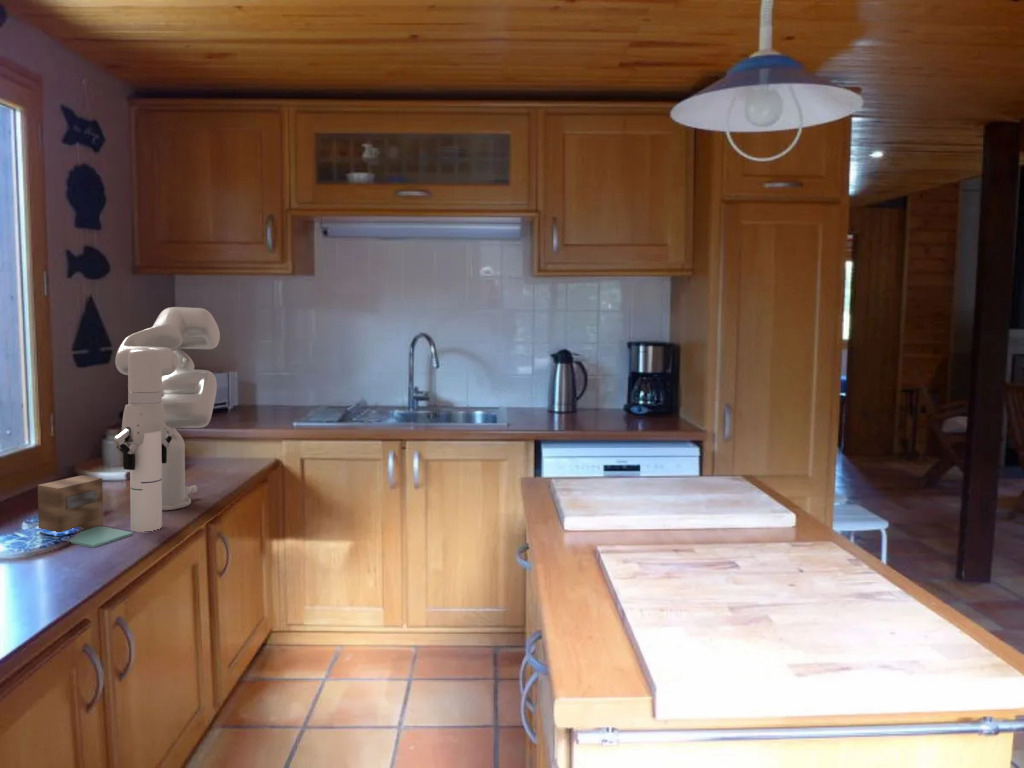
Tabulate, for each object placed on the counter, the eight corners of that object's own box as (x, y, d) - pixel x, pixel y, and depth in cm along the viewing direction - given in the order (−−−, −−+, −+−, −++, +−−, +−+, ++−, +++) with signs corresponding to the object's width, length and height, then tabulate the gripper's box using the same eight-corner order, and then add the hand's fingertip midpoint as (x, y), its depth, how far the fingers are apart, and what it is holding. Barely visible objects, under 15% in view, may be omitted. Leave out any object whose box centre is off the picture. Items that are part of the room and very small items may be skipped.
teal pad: (100, 528, 186) (100, 525, 186) (132, 534, 182) (132, 532, 182) (59, 540, 175) (59, 538, 175) (93, 547, 172) (93, 545, 172)
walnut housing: (81, 520, 191) (80, 474, 190) (104, 524, 189) (103, 478, 187) (37, 532, 180) (35, 484, 179) (60, 537, 177) (59, 488, 176)
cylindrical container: (161, 531, 185) (160, 433, 183) (129, 533, 183) (128, 433, 180) (162, 523, 192) (162, 428, 189) (132, 524, 189) (131, 428, 187)
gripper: (161, 394, 193) (161, 458, 195) (103, 400, 177) (104, 470, 179) (183, 396, 191) (183, 461, 192) (127, 402, 174) (127, 474, 176)
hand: (145, 466), depth 185 cm, fingers open, 9 cm apart
